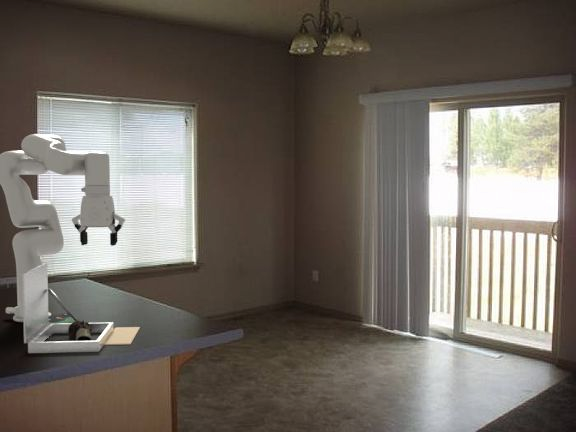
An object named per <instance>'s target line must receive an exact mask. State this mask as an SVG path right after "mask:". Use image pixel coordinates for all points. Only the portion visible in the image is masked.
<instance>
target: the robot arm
mask: <svg viewBox="0 0 576 432" xmlns="http://www.w3.org/2000/svg"><path fill="white" fill-rule="evenodd" d="M20 145H21V150H9V151H3V152H2V153H0V186H1V188H2V190H3V193H4V196H5V201H6V205H7V209H8V212H9V217H10V220H11V222H12V225H13V226H15V227H16V228H20V229H23V228H35V227H36V228H37V229H36V228H35V229H27V230H21V231H20V232H17V233H16V234H15V235H14V236H13V239H12V241H11V242H12V244H11V245H12V249H13V254H14V259H15V266H16V267H15V270H16V294H17V295H16V296H17V306H15V307H12V306H11V307H9V306H8V307H6V308H5V313H6V314H9V315H11V314H14V315H13V317H12V319H13V321H14V322H18V323H24V322H23V287H22V274H24V273H26V272H28V271H30V270H32V269H34V268H36V267H38V266H40V265H42V264H44V262H42V260H41V258H40V257H42V256H49V255H50V256H51V255H56V254H59V253H60V252H61V251H62V250H63V248H64V245H65V244H64V243H65V242H64V235H63V231H62V228H61V223H60V219H59V216H58V212H57V210H56V207H55V206H54V204H53V203H52V202H50V201H48V200H43V199H42V200H41V199H40V200H37V199H34V198H33V195H32V192H31V188H30V186H29V185H28V184H27V182H26V181H25V180H24V179H23V178H22V177H20V176H21V175H24V176H25V175H27V176H28V175H29V176H31V175H33V176H34V175H36V176H38V175H44V174H46V173H47V172H49V171H50V172H53V173H55V174H59V175H61V176H84V186H83V187H81V188H80V189H81V192H83V193H84V194H85V195H82V198H81V204H80V212H79V213H80V214H78V215H76V216H74V217H73V218H72V219H71V222H72V224H73V226H74V228H75V229H76V230H77V231H78V233H79V242H80V244H81V246H86V245H88V232H87V229H88V228H108V229H109V231H110V234H109V235H110V236H109V238H110V239H109V241H110V246H111V247H112V246H113V247H114V246H116V245H117V243H118V233H119V231H120V230H121V229H122V228H123V226H124V224H125V222H126V218H124V217H122V216H120V215H119V214H116V211H115V203H114V198H113V195H111V177H110V176H111V174H110V171H111V169H110V167H111V166H110V154H108V153H107V152H103V151H90V152H89V151H67V146H66V143H65V140H64V139H63V138H62V137H60V136H59V135H56V134H43V133H41V134H40V133H33V134H29V135H27V136H25V137H24V138H23V139H22V140H21V144H20ZM116 220H117V221H118V222H117V224H116ZM79 221H80V222H79ZM38 227H40V228H38ZM48 313H49V316H51V315H52V313H51V312H49V311H48Z"/></svg>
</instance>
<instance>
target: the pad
mask: <svg viewBox="0 0 576 432" xmlns="http://www.w3.org/2000/svg"><path fill="white" fill-rule="evenodd" d="M140 328H141V326H128V327H127V326H125V327H124V326H121V327H115V328H114V330H113V332H112V333H111V334H110V336H109V337H108V339H107V340H106V341H105V343H104V345H103V346H128V345H132V343H133V342H134V339H135V337H136V336H137V334H138V333H139V331H140Z"/></svg>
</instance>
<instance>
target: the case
mask: <svg viewBox="0 0 576 432" xmlns="http://www.w3.org/2000/svg"><path fill="white" fill-rule="evenodd" d="M48 279H49V278H48V262H43V264H42V265H40V266H38V267H36V268H34V269H32V270H30V271H28V272H26V273H24V274H22V287H23V322H22V323H23V344H27V353H28V354H50V353H52V354H53V353H54V354H55V353H89V352H93V353H95V352H101V349H102V348H103V347H104V346H105V345H104V343H105V341H106V340H107V339H108V337H109V336H110V334H111V333H112V332H113V330H114V329H115V328H114V327H115V326H114V324H115V323H114V322H113V321H112V322H111V321H110V322H109V321H108V322H88V323H89V326H90V329H91V332H90V334H91V333H92V334H93V333H101V334H100V335H99V336H98V337H97V339H96V340H92V341H71V340H62V341H61V340H60V341H54V340H53V341H47V340H48V339H49V338H50V337H51V336H52V335H54V334H69V332H68V328H69V326H70V324H72V323H56V324H51V322H49V313H50V312H49V294H50V296H52V298H54V300H55V301H56V302H57V303H58V304H59V305H60V306H61V307H62V309H63V310H64V311H65V313H68V314H69V315H70V317H71V318H72V319H73V320H74V321H78V320H79V319H78V318H77V317H76V316H75V315H74V314H73V313H72V311H71V310H70V309H69V308H68V307H67V306H66V304H64V302H63V301H62V300H61V299H60V297H58V296H57V295H56V293H55V292H54V291H53V290H52V289H51V288H49V285H48V284H49V281H48ZM48 312H49V313H48ZM77 319H78V320H77ZM49 336H50V337H49ZM47 338H48V339H47ZM46 339H47V340H46ZM45 340H46V341H45Z"/></svg>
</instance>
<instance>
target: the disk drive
mask: <svg viewBox="0 0 576 432" xmlns="http://www.w3.org/2000/svg"><path fill="white" fill-rule="evenodd" d="M77 320H79V319H78V318H77ZM49 322H51V324H56V323H74V322H75V321H74V320H73V319H72V318H71V317H70V315H69V314H68V313H67V312H65V313H57V314H51V316H49Z"/></svg>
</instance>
